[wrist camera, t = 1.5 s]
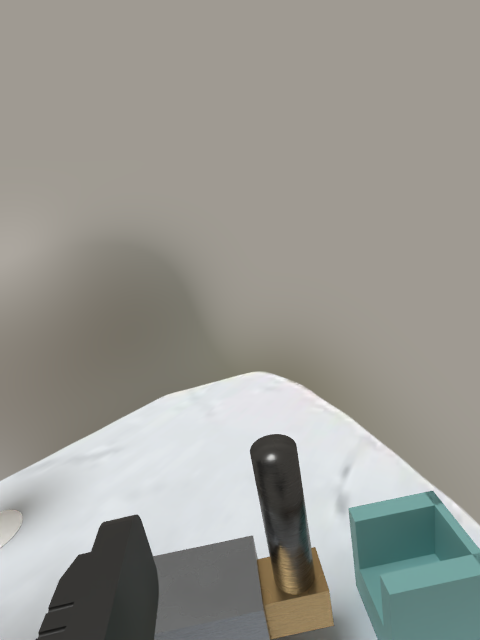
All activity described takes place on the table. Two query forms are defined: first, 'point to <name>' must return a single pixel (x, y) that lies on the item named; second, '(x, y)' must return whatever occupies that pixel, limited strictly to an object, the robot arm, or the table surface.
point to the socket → (416, 570)
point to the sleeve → (211, 593)
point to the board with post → (287, 543)
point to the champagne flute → (9, 525)
